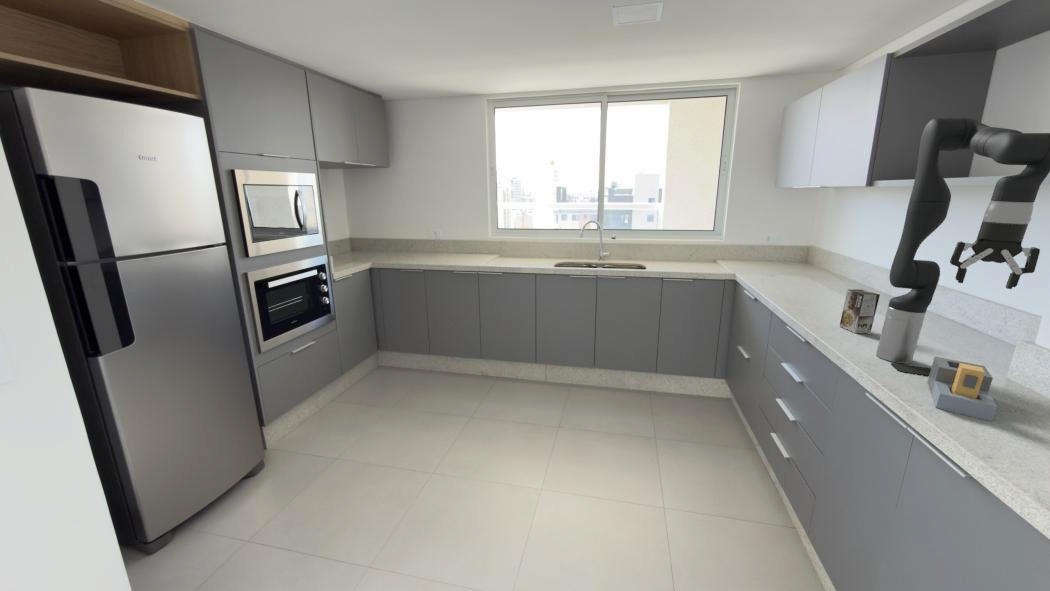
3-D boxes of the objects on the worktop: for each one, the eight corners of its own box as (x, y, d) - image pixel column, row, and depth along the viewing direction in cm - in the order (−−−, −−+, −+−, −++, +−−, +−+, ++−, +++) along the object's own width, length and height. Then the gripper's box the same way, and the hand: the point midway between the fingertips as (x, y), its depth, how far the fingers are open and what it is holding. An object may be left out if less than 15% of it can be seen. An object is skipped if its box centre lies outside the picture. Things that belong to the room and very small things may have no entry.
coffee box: (871, 334, 164) (881, 294, 160) (854, 333, 164) (864, 294, 160) (853, 326, 173) (862, 289, 169) (838, 326, 173) (846, 288, 169)
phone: (889, 362, 135) (949, 370, 130) (889, 364, 136) (949, 373, 130) (899, 371, 129) (962, 380, 123) (898, 373, 129) (962, 382, 123)
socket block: (927, 381, 123) (934, 356, 121) (975, 392, 117) (984, 366, 115) (935, 407, 107) (944, 379, 105) (992, 421, 101) (1002, 391, 99)
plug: (948, 397, 111) (959, 363, 108) (970, 403, 108) (981, 367, 106) (951, 404, 107) (962, 368, 105) (973, 410, 105) (985, 373, 102)
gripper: (1045, 222, 100) (1021, 287, 104) (961, 217, 108) (942, 278, 113) (1055, 224, 94) (1029, 293, 99) (966, 219, 103) (946, 283, 107)
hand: (983, 285), depth 106 cm, fingers open, 8 cm apart
